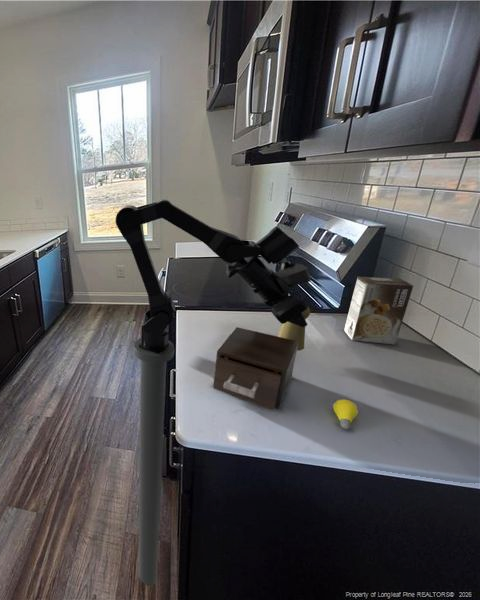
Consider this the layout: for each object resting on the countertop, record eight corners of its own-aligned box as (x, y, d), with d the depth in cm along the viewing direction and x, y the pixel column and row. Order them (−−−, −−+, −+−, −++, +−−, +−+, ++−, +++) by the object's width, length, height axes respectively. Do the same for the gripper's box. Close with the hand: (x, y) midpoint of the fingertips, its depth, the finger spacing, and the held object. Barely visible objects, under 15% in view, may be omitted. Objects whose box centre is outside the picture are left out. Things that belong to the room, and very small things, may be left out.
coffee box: (384, 334, 86) (402, 277, 80) (395, 345, 81) (415, 285, 75) (342, 330, 89) (357, 275, 84) (350, 340, 84) (366, 283, 78)
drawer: (268, 423, 57) (275, 390, 55) (205, 399, 65) (208, 369, 62) (286, 378, 69) (292, 349, 67) (231, 362, 76) (235, 335, 74)
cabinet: (278, 410, 62) (287, 370, 58) (213, 387, 70) (217, 350, 66) (291, 376, 71) (299, 341, 68) (232, 359, 79) (236, 327, 76)
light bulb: (349, 410, 60) (362, 401, 58) (349, 437, 57) (363, 428, 54) (329, 401, 62) (341, 392, 59) (328, 427, 58) (340, 418, 55)
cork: (300, 340, 81) (309, 300, 77) (307, 352, 76) (317, 310, 72) (273, 337, 83) (280, 298, 79) (278, 349, 78) (286, 308, 74)
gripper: (306, 264, 64) (355, 317, 65) (276, 245, 81) (316, 287, 82) (257, 298, 69) (304, 347, 70) (238, 274, 85) (277, 313, 87)
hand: (301, 321), depth 77 cm, fingers closed on cork, 5 cm apart
